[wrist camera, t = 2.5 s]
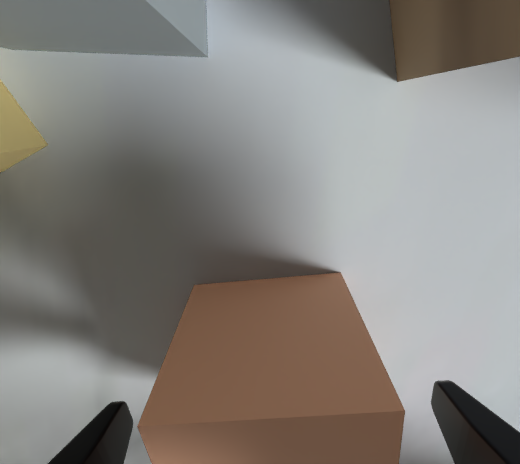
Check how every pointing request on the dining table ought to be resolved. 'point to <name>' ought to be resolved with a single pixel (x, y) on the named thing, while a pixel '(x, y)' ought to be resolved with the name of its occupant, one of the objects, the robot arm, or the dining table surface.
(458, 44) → the walnut cube
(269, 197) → the dining table surface
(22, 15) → the slate cube
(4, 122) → the ochre cube
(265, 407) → the terracotta cube
